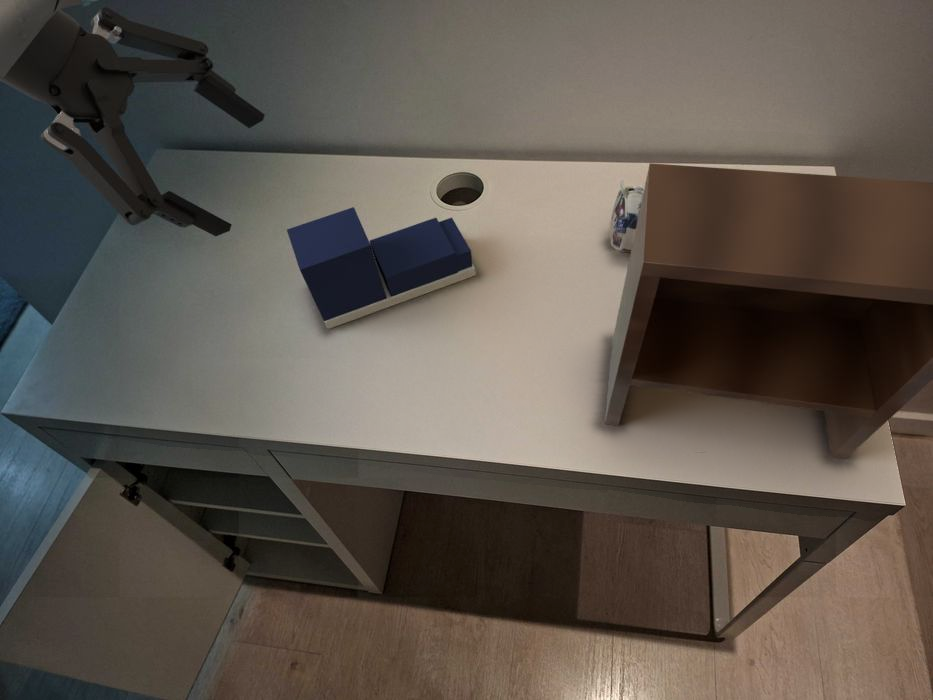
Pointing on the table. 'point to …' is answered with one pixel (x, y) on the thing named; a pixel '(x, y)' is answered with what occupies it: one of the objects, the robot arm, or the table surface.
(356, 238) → the blue blocks on base
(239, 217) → the table surface
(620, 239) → the pencil case
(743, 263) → the brown box
